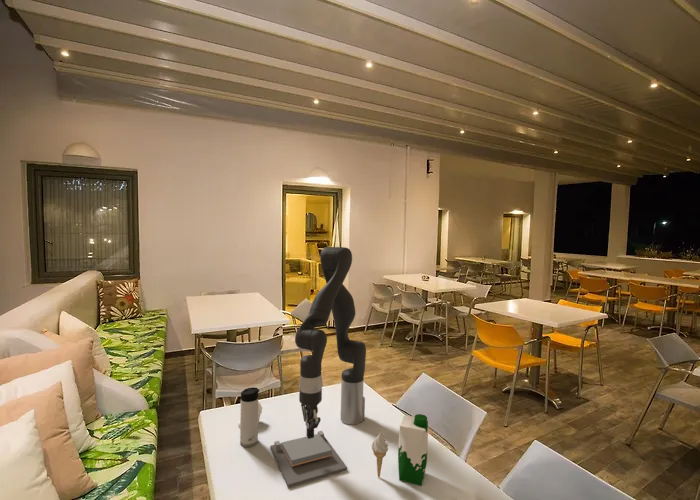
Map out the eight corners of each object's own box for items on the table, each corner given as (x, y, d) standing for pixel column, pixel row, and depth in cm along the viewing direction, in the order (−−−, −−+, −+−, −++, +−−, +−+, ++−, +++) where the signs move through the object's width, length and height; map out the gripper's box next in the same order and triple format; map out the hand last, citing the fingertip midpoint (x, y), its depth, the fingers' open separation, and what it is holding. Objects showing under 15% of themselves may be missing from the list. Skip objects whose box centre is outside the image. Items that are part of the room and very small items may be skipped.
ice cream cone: (369, 471, 120) (370, 427, 119) (386, 471, 120) (387, 426, 119) (371, 483, 114) (372, 436, 113) (389, 482, 115) (390, 436, 114)
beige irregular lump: (263, 399, 150) (246, 415, 139) (264, 418, 151) (247, 436, 140) (249, 396, 152) (232, 413, 140) (250, 415, 153) (233, 433, 142)
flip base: (322, 436, 140) (322, 427, 139) (347, 470, 120) (347, 460, 120) (270, 448, 131) (270, 439, 131) (288, 488, 111) (288, 477, 111)
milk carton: (424, 488, 112) (426, 425, 111) (395, 481, 115) (397, 419, 114) (427, 471, 121) (430, 412, 120) (400, 464, 124) (402, 407, 123)
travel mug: (253, 448, 131) (254, 394, 130) (236, 446, 132) (237, 392, 131) (261, 439, 137) (262, 386, 136) (245, 436, 138) (245, 384, 137)
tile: (318, 433, 135) (331, 449, 124) (318, 439, 135) (331, 455, 124) (281, 442, 128) (291, 460, 118) (281, 448, 128) (291, 466, 118)
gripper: (328, 393, 118) (328, 445, 119) (314, 377, 130) (313, 424, 131) (306, 398, 115) (306, 451, 116) (293, 381, 126) (293, 429, 128)
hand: (310, 437), depth 123 cm, fingers closed
